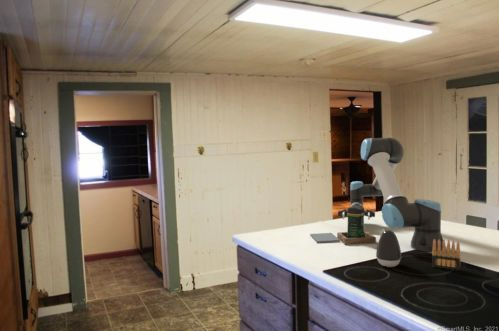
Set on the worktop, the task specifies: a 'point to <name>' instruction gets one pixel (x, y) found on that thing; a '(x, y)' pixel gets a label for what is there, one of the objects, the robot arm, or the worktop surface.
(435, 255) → the ammunition clip
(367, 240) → the walnut collar
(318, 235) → the slate mat
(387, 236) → the grey egg shaped container
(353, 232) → the coffee jar
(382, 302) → the worktop surface
